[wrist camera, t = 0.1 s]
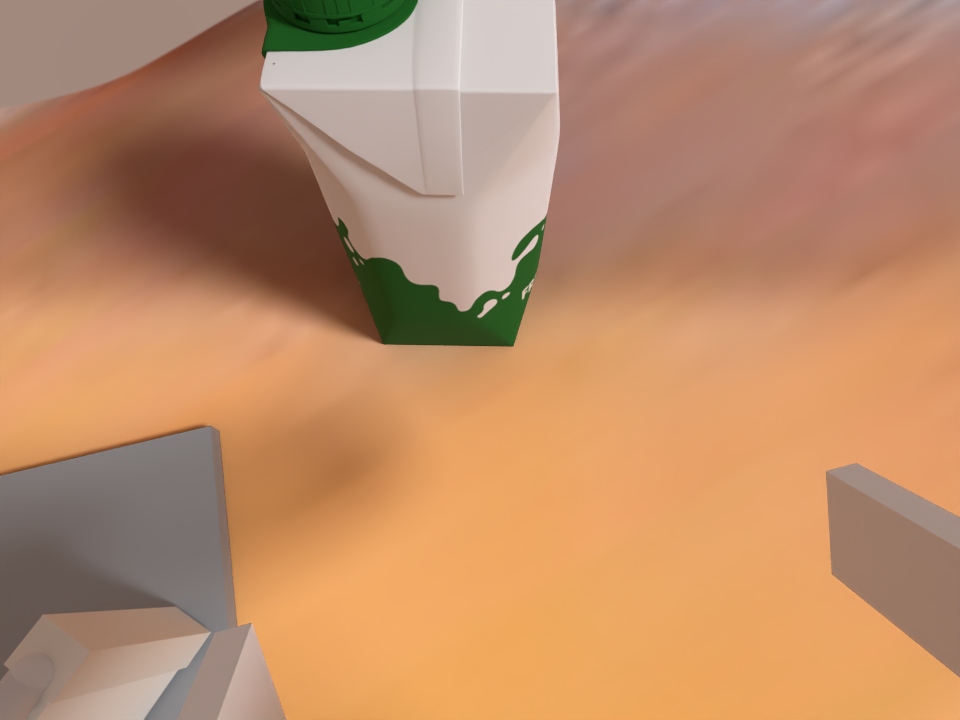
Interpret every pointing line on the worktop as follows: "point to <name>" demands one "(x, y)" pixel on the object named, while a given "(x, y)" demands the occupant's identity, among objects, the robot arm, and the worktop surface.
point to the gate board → (120, 542)
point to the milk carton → (426, 150)
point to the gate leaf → (98, 664)
